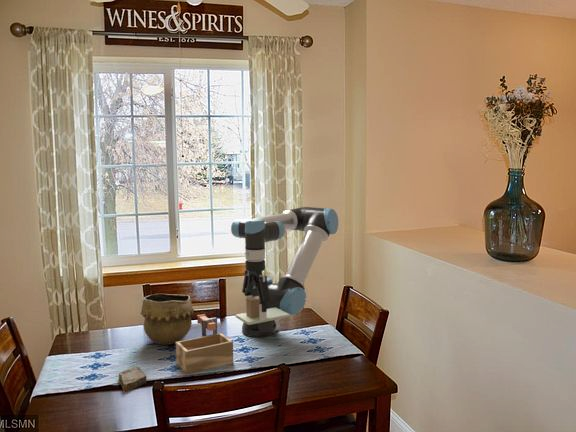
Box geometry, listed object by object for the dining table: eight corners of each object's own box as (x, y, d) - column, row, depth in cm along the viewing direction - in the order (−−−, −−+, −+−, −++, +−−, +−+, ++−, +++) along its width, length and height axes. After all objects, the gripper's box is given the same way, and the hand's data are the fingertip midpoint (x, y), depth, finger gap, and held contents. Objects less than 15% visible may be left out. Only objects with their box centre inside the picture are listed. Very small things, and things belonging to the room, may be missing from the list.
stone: (117, 375, 172) (116, 367, 172) (141, 371, 176) (141, 363, 175) (123, 393, 159) (123, 384, 159) (149, 388, 163) (149, 379, 162)
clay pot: (161, 331, 215) (159, 286, 213) (204, 337, 208) (202, 290, 206) (130, 348, 196) (128, 299, 194) (177, 355, 189) (175, 304, 187)
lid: (235, 317, 192) (235, 297, 191) (275, 309, 201) (275, 290, 200) (248, 325, 182) (248, 303, 182) (289, 316, 192) (289, 296, 191)
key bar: (197, 323, 199) (197, 315, 198) (204, 321, 200) (204, 314, 200) (208, 331, 189) (208, 323, 188) (216, 330, 190) (216, 322, 190)
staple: (202, 351, 192) (201, 319, 191) (216, 348, 195) (215, 317, 194) (204, 353, 191) (203, 320, 189) (217, 350, 194) (216, 318, 192)
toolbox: (176, 362, 182) (175, 342, 181) (221, 352, 191) (220, 332, 190) (186, 373, 173) (185, 351, 172) (233, 362, 182) (233, 341, 181)
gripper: (233, 255, 196) (234, 309, 198) (261, 266, 176) (261, 325, 178) (250, 253, 200) (250, 306, 202) (279, 264, 180) (279, 322, 182)
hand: (255, 315), depth 190 cm, fingers closed on lid, 11 cm apart
